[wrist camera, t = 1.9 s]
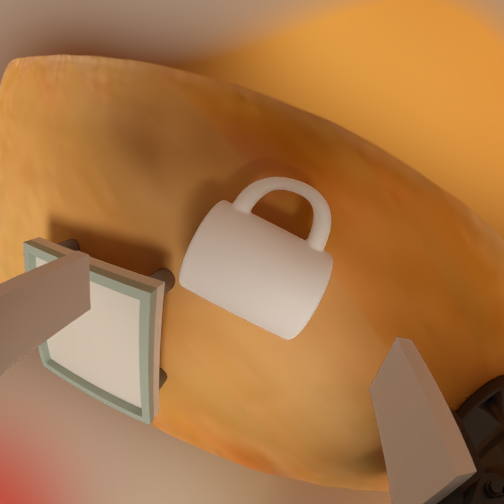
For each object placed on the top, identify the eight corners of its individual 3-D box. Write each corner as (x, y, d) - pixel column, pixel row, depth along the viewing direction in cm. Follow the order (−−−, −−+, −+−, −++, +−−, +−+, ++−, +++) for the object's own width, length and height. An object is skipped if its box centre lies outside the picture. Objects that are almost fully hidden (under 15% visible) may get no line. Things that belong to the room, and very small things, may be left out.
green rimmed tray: (184, 267, 28) (150, 293, 21) (172, 389, 33) (150, 425, 26) (63, 229, 30) (23, 242, 23) (71, 342, 35) (42, 365, 28)
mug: (289, 313, 28) (283, 359, 20) (200, 268, 28) (166, 299, 21) (349, 206, 24) (370, 218, 17) (251, 157, 25) (230, 147, 17)
